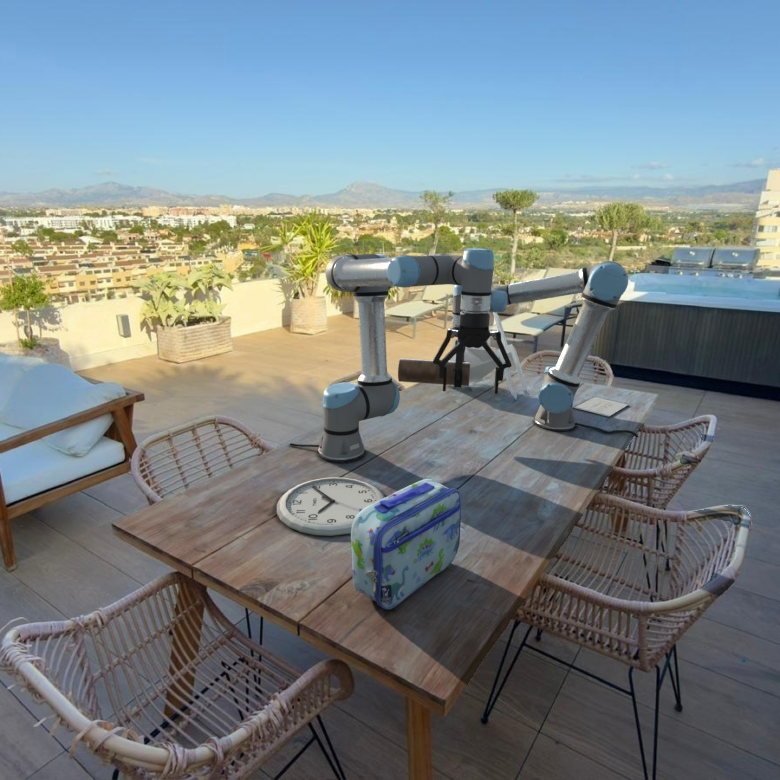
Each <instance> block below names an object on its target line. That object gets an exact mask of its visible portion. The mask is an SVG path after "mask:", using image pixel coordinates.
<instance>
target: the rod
mask: <svg viewBox="0 0 780 780" xmlns="http://www.w3.org/2000/svg"><path fill="white" fill-rule="evenodd" d="M445 365H447V375H446V386H454V380H455V371H453V369H455V362H452V361H450V360H449V361H448V362H447V363H446V364H445ZM439 369H440V367H439V365H437V364H434V363H433V359H415V358H399V361H398V367H397V379H398V382H403V383H417V384H430V385H443V378H440V377H439ZM469 378H470V363H469V362H463V363H462V386H461V387H469V386H470V382H469Z"/></svg>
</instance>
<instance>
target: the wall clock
mask: <svg viewBox="0 0 780 780" xmlns="http://www.w3.org/2000/svg"><path fill="white" fill-rule="evenodd" d="M385 497H386V496H385V494H384V493H383V492H382V491H381V490H380V489H379V488H377V487H376V486H374V485H372V484H371V483H369V482H365V481H362V480H359V479H355V478H349V477H338V476H337V477H335V476H333V477H332V476H331V477H322V478H317V479H312V480H307V481H305V482H302V483H299V484H297V485H295V486H293V487H292V488H290V489H288V490H287V491H286V492H285V493H284V494H283V495H281V496H280V498H279V499H278V502H277V503H276V515H277V517H278V518H279V520H280V521H281V522H282V523H283V524H285V525H286V526H287V527H288V528H290V529H293V530H295V531H297V532H299V533H303V534H308V535H312V536H327V537H328V536H329V537H331V536H332V537H333V536H342V535H350V534H351V529H352V524H353V521H354V519H355V517H356V516H357V514H358V513H359V512H360V511H361V510H362V509H364V508H366V507H367V506H369V505H371V504H374V503H375V502H377V501H379V500H381V499H383V498H385Z"/></svg>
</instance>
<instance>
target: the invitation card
mask: <svg viewBox="0 0 780 780" xmlns="http://www.w3.org/2000/svg"><path fill="white" fill-rule="evenodd" d="M628 406H629V404H627V403H623V402H618V401H614V400H609V399H605V398H601V397H596V396H593V397H592V398H590V399H588V400H586V401H584V402H582V403H580V404H578V405H575V406H574V407H573V409H575V410H581V411H584V412H587V413H593V414H596V415H600V416H604V417H608V418H609V417H611V416H613V415H614V414H616V413H617V412H619V411H621V410H623V409H624V408H626V407H628Z"/></svg>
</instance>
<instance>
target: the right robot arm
mask: <svg viewBox="0 0 780 780" xmlns="http://www.w3.org/2000/svg"><path fill="white" fill-rule="evenodd" d="M628 285H629V276H628V272H627V270H626V269H625V268H624V267H623V266H622V264H620V263H618V262H616V261H614V260H613V261H612V260H606V261H602V262H600V263H596V264H594V265H589V266H586V267H581V269H580V270H578V271H575V272H569V273H564V274H559V275H554V276H553V275H552V276H548V277H542V278H537V279H532V280H526V281H520V282H516V283H515V282H514V283H509V284H505V285H496V286H492V290H491V306H490V310H489V311H488V313H490V312H491V313H493V312H496V313H504V312H506V310H507V307H508V306H510V305H515V304H523V303H528V302H534V301H540V300H546V299H552V298H558V297H564V296H570V295H571V296H572V295H577V294H581V295H580V298H581V301H582V305H581V307H580V310H579V311H578V314H577V317H576V319H575V321H574V323H573V325H572V328H571V329H570V332H569V335H568V337H567V339H566V341H565V344H564V346H563V349H562V350H561V353H560V355H559V357H558V360H557V362H556V364H555V365H552V366H551V365H549V366H546V367H545V368H544V372H543V381H542V385H541V387H540V389H539V391H538V401H539V404H540V405H539V407H538V410H537V411H536V413H535V417H534V424H535V425H536V426H537V427H539V428H542V429H544V430H549V431H556V432H567V431H572V430H574V429H575V428H576V426H578V427H583V428H586V429H591V430H595V431H597V432H598V431H599V432H601V433H604V434H609V435H610V434H616V433H617V434H618V433H619V434H625V433H626V434H627V433H628V434H630V435H633V436H634V437H635V438H640V436H639V435H638V434H637V433H636V432H634V431H632V430H629V429H628V430H627V429H613V430H606V429H603V428H600V427H597V426H592V425H588V424H584V423H579V422H576V418H575V417H576V416H575V413H574V407H573V405H574V399H575V396H576V394H577V391H578V389H579V388H580V385H581V383H582V380H581V378H580V375H581V372H582V370H583V368H584V366H585V364H586V362H587V359H588V357H589V355H590V354H591V351H592V348H593V347H594V344H595V342H596V340H597V337H598V336H599V333H600V331H601V328H602V327H603V325H604V322H605V320H606V319H607V316H608V314H609V313H610V312H611V311H614V310H616V308H617V306H618V304H619V302H620V300H621V297H622V296H623V295H624V293H625V292H626V290H627V289H628ZM461 290H462V286H459V285H453V292H452V294H453V295H452V311H451V312H452V314H451V316H450V319H451V325H452V326H451V327H450V329H452V330H457V331H458V330H459V325H460V313H461V312H462V311H463V310H461ZM454 338H456V339H458V340H456V341H455V345H456V344H457V343H458V342H459V341H460V339H459V337H458V336H457V335H455V336H454ZM464 353H465V346H463V347H462V348H461V349H460V350H459V351H458V352H457V353H456V362H455V369H453V371H455V380H454V385H453V388H456V389H462V387H463V386H462V363H463V362H466V361H464Z"/></svg>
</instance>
